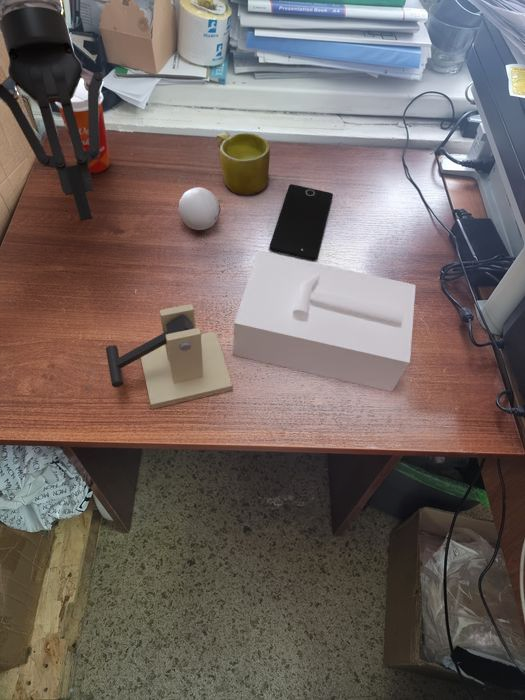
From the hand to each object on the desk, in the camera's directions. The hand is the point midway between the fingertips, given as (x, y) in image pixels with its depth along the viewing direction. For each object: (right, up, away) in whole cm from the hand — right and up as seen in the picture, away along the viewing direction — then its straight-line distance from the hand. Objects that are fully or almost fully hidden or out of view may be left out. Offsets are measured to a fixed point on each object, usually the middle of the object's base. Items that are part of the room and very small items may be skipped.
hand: (86, 219), depth 66 cm
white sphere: (+12, +7, +28) cm, 31 cm away
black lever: (+8, -17, +3) cm, 19 cm away
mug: (+18, +17, +35) cm, 43 cm away
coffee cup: (-10, +20, +34) cm, 41 cm away
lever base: (+11, -20, +10) cm, 25 cm away
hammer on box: (+32, -15, +16) cm, 39 cm away
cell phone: (+30, +7, +29) cm, 43 cm away
